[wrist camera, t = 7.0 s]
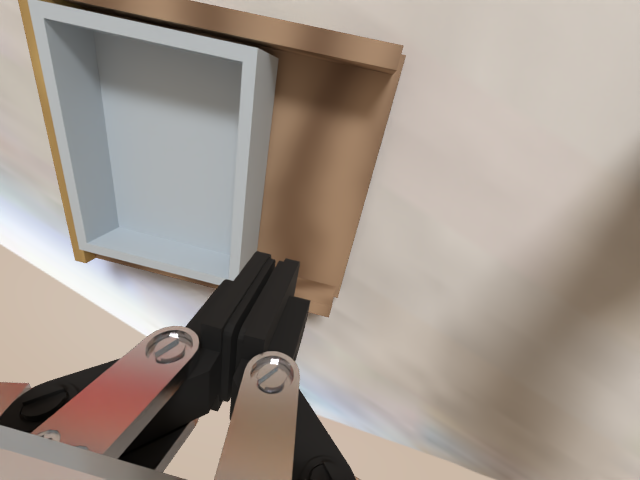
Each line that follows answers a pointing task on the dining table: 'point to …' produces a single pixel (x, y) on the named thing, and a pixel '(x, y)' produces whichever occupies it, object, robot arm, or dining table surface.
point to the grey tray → (158, 139)
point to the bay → (283, 130)
